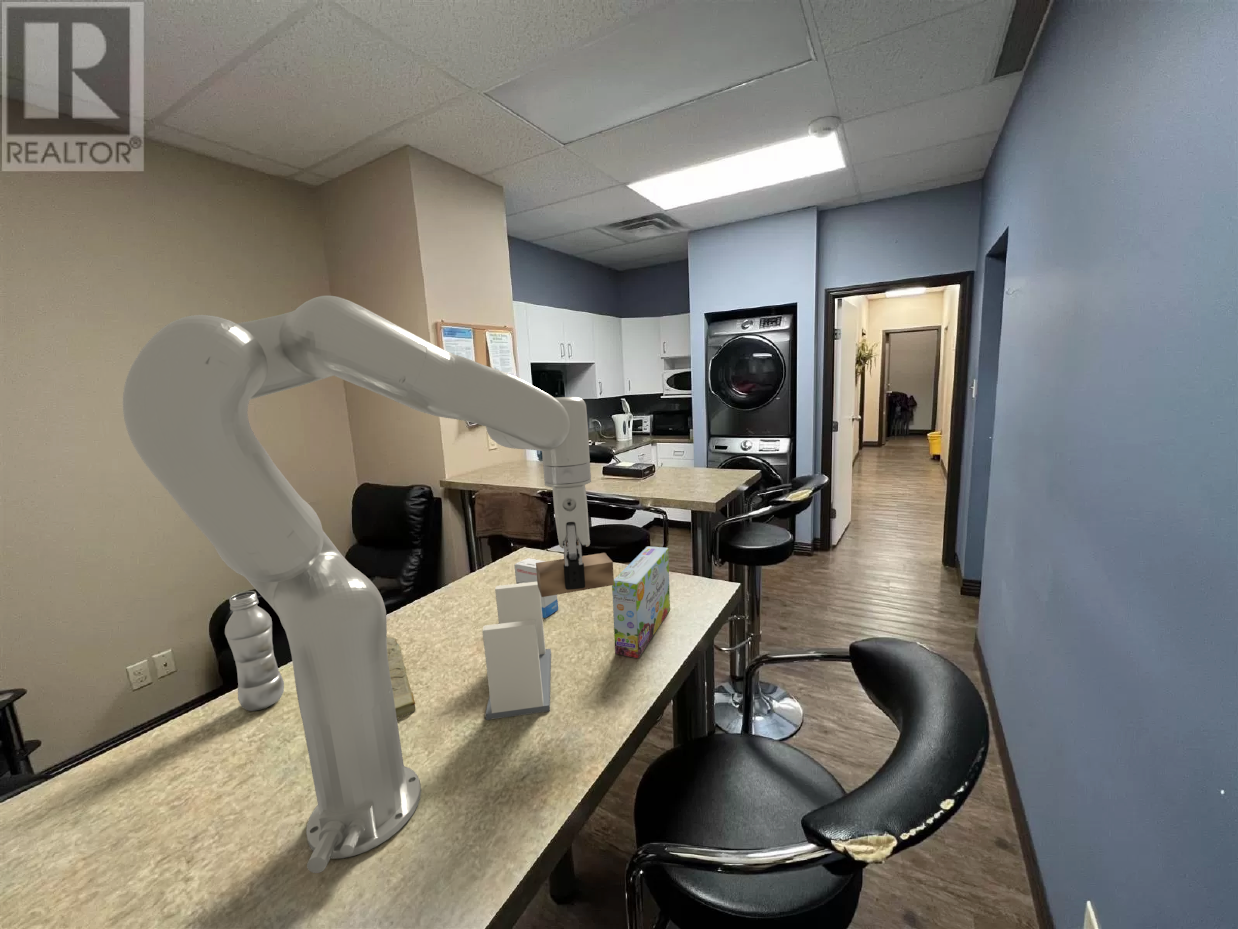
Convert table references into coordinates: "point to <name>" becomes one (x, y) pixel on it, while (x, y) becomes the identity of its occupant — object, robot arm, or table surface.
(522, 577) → the ink box
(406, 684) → the stone slab
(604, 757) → the table surface
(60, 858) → the table surface
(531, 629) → the stand
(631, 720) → the table surface
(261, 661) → the plastic bottle
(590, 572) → the brown wooden block
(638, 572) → the snack box
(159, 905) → the table surface
